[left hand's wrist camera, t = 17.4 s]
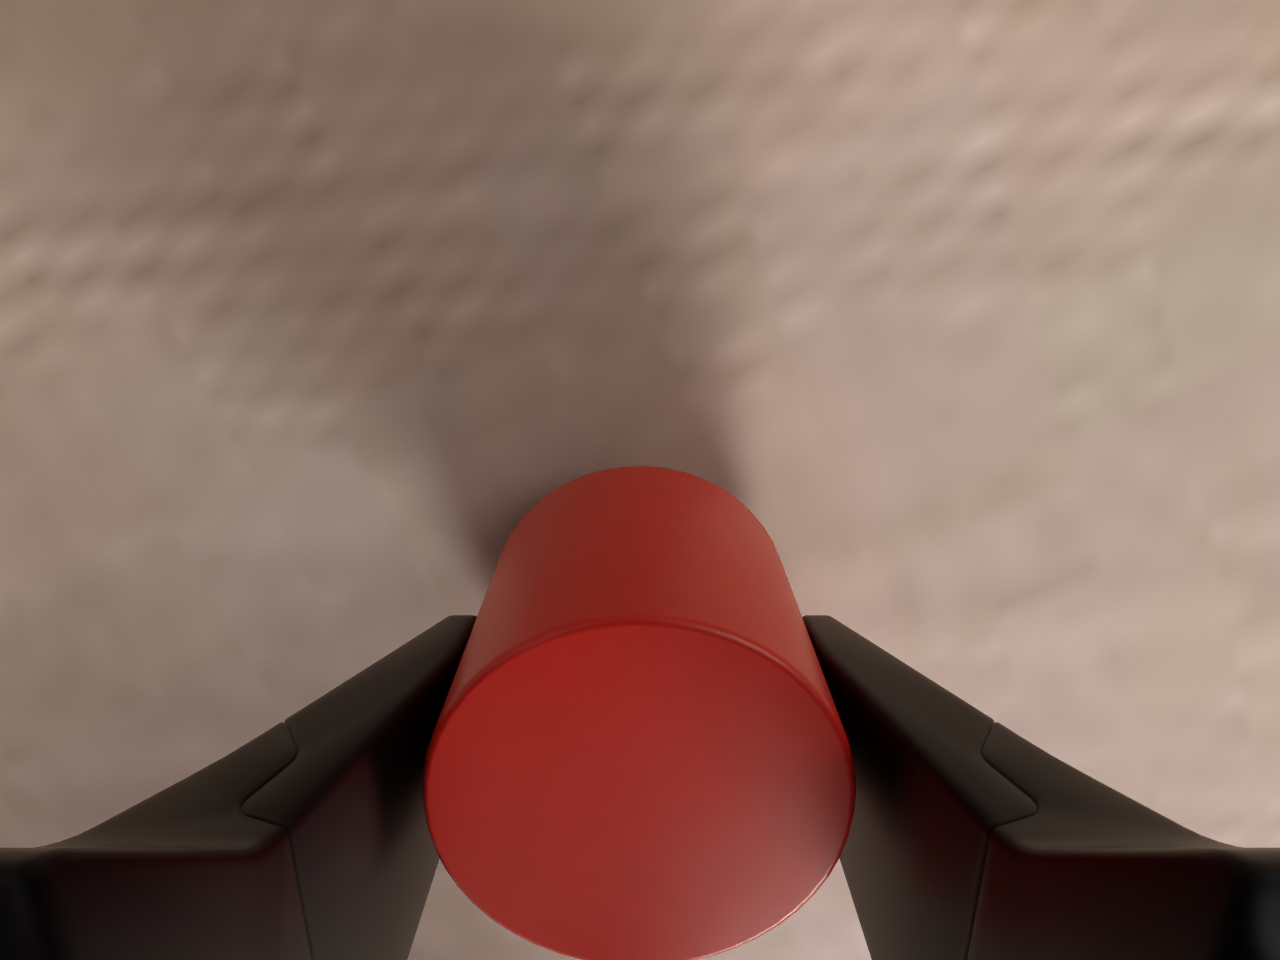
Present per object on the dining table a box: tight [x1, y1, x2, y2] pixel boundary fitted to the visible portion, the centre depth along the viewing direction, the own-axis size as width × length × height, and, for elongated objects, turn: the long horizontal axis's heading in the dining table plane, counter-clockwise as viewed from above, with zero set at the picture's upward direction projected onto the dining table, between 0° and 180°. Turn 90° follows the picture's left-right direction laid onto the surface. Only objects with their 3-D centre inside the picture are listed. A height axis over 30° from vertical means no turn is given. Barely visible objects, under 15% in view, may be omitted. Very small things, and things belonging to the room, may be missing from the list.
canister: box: [423, 466, 856, 960], centre depth 10 cm, size 4×4×4 cm
